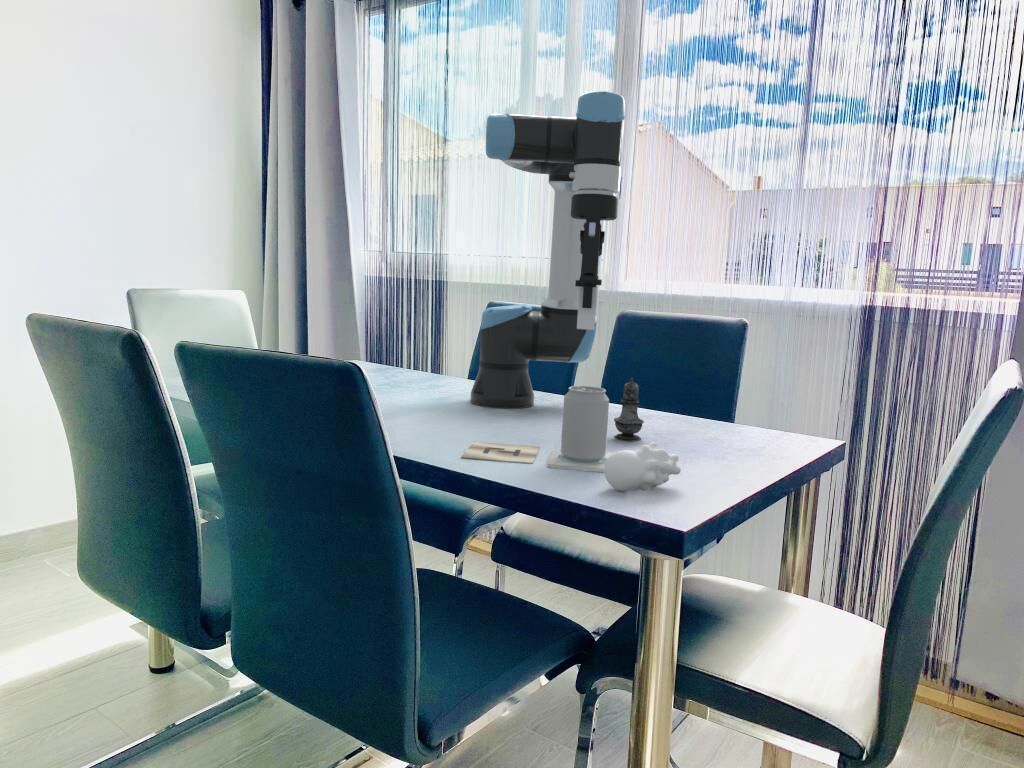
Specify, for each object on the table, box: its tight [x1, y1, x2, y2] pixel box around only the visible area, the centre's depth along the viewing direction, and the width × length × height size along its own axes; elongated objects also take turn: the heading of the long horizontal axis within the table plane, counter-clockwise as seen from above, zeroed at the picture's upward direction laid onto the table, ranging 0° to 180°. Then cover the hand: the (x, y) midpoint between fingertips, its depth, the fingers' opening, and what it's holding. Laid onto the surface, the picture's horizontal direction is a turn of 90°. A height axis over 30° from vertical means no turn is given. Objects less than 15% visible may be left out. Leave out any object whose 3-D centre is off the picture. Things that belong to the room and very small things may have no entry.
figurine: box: [603, 441, 682, 492], centre depth 112 cm, size 7×7×12 cm
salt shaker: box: [613, 377, 645, 442], centre depth 146 cm, size 6×6×12 cm
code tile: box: [460, 441, 540, 465], centre depth 130 cm, size 12×12×1 cm
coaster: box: [546, 448, 615, 473], centre depth 126 cm, size 11×11×1 cm
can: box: [560, 385, 610, 463], centre depth 125 cm, size 8×8×12 cm
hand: (586, 326), depth 124 cm, fingers open, 13 cm apart
